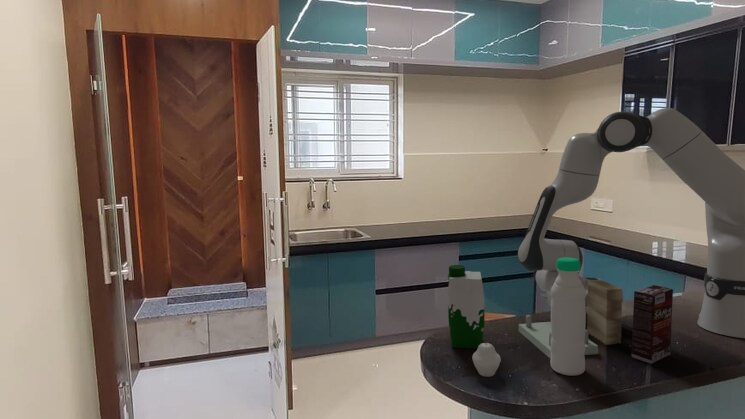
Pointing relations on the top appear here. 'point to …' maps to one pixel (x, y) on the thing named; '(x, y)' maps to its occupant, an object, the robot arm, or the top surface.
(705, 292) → the robot arm
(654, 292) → the supplement box
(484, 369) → the white bulb shape
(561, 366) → the water bottle
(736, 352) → the top surface
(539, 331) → the peg rest
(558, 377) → the top surface
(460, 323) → the milk carton
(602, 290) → the upright wooden block
